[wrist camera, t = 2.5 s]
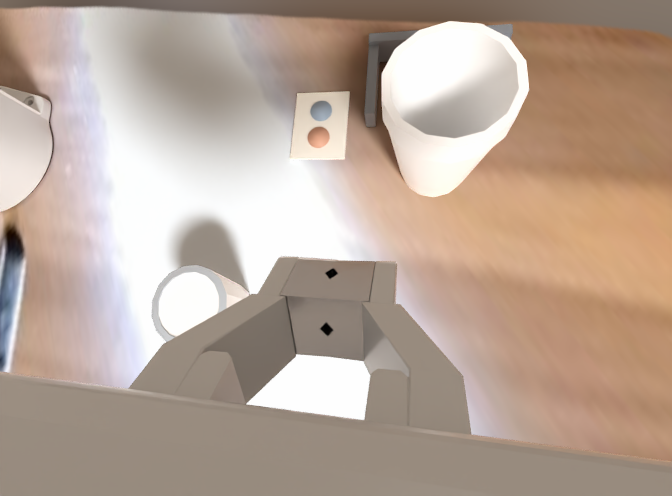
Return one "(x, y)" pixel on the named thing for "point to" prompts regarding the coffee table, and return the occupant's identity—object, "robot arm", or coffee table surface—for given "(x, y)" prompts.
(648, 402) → the coffee table surface
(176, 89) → the coffee table surface
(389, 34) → the grey cup holder
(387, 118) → the foam cup
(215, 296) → the shot glass
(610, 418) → the coffee table surface
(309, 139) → the card
